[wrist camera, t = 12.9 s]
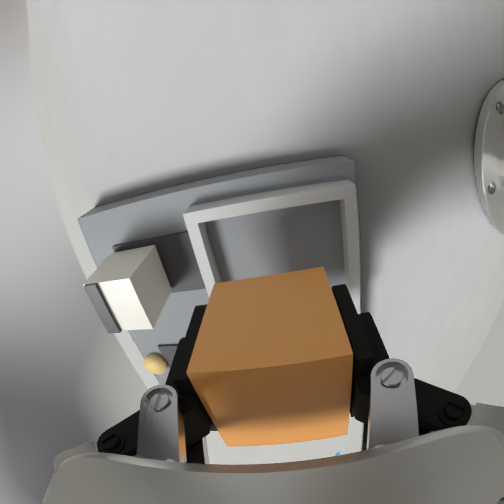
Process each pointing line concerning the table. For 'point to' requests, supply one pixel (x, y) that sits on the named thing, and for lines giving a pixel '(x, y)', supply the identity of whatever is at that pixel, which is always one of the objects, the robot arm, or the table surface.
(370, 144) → the table surface
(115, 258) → the toggle
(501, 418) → the robot arm
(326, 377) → the cap
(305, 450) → the table surface
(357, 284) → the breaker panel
